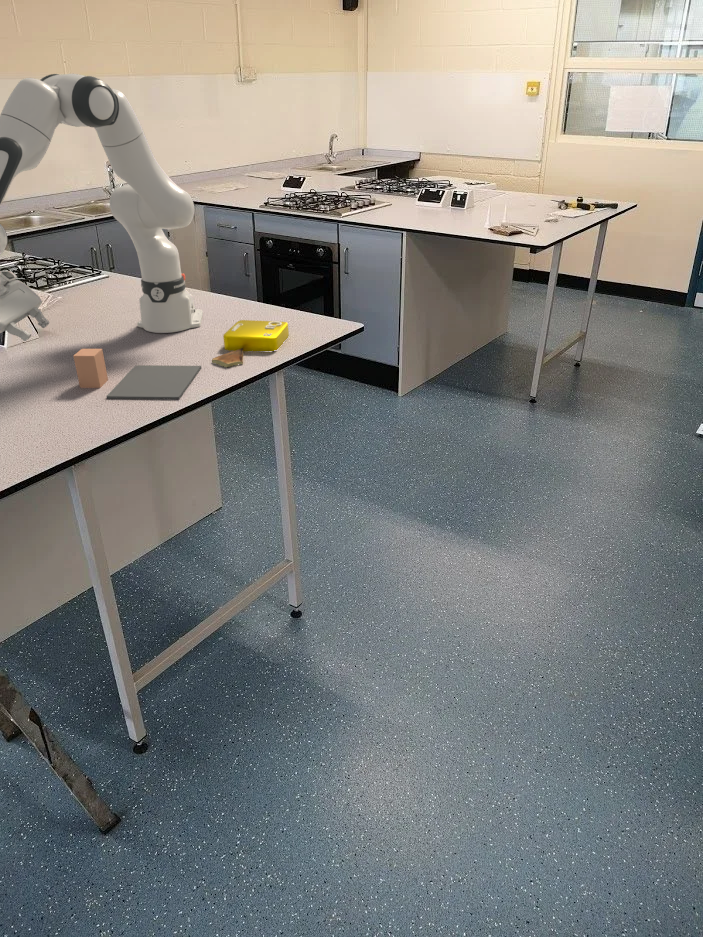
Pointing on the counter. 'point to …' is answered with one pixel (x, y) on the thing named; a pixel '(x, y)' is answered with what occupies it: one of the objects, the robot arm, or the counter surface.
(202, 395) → the counter surface
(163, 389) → the charcoal mat
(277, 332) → the element tile
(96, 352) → the terracotta block
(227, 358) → the shard
